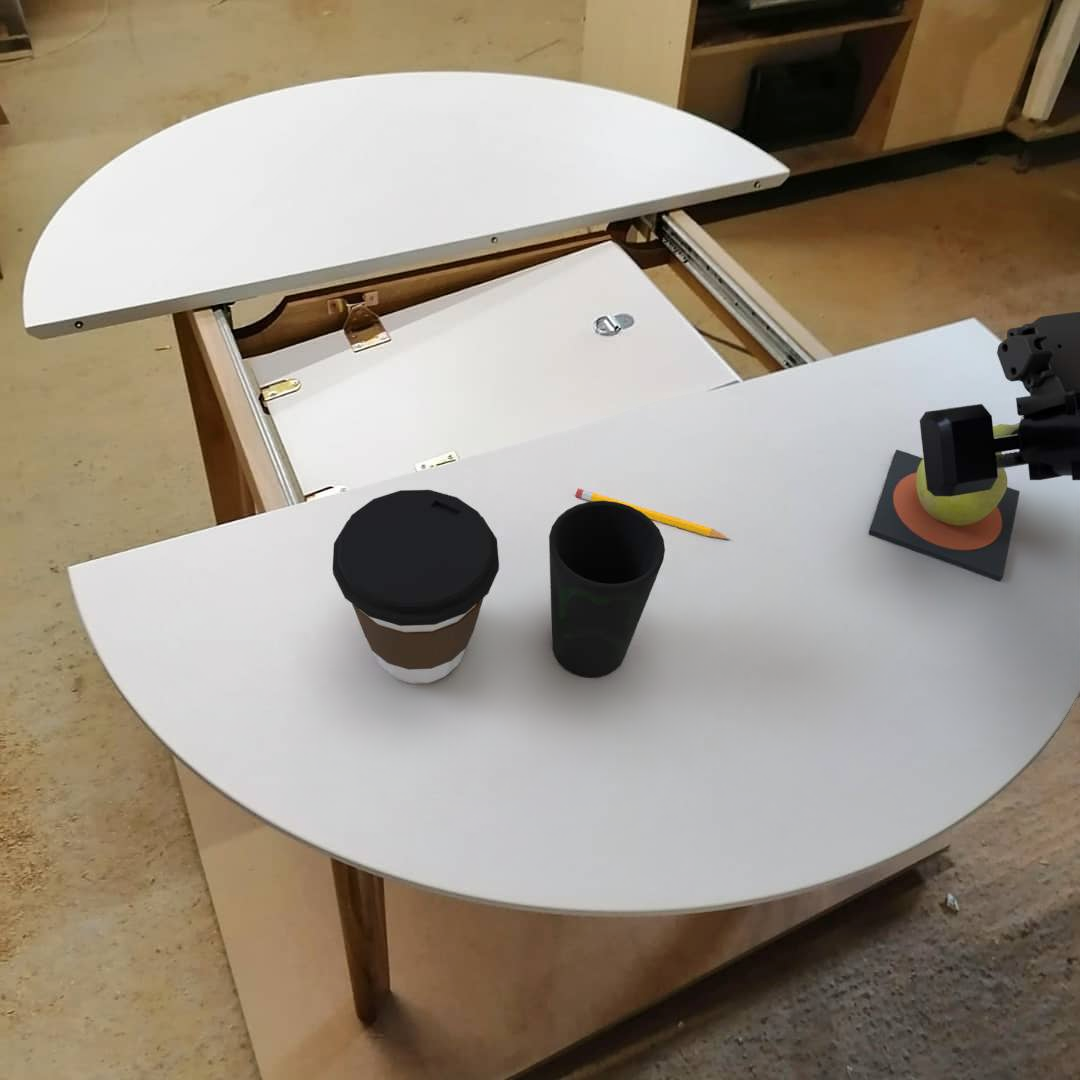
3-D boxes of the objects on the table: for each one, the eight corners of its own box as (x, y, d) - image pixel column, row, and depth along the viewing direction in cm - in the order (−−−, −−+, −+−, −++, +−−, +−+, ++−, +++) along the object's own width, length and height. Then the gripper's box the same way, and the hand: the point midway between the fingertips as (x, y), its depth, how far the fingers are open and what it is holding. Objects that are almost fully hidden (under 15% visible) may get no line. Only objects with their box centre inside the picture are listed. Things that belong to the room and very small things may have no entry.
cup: (641, 612, 78) (666, 506, 69) (638, 696, 73) (664, 594, 64) (542, 600, 78) (554, 493, 69) (532, 683, 73) (543, 580, 64)
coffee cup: (399, 570, 79) (392, 461, 70) (521, 629, 76) (530, 523, 67) (314, 670, 72) (294, 564, 63) (443, 739, 69) (442, 638, 60)
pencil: (577, 492, 86) (578, 486, 85) (730, 538, 84) (732, 532, 83) (574, 498, 85) (575, 492, 85) (728, 545, 83) (730, 539, 83)
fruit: (898, 478, 88) (949, 372, 79) (983, 487, 88) (1044, 381, 79) (911, 535, 84) (967, 429, 75) (1001, 544, 84) (1067, 439, 75)
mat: (1017, 495, 89) (1020, 490, 88) (1000, 581, 82) (1003, 576, 82) (894, 453, 91) (896, 448, 91) (867, 534, 85) (870, 528, 84)
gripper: (1225, 295, 68) (1056, 328, 83) (988, 326, 64) (855, 355, 79) (1237, 458, 69) (1068, 462, 84) (1005, 499, 65) (871, 495, 80)
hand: (968, 440), depth 82 cm, fingers open, 7 cm apart
